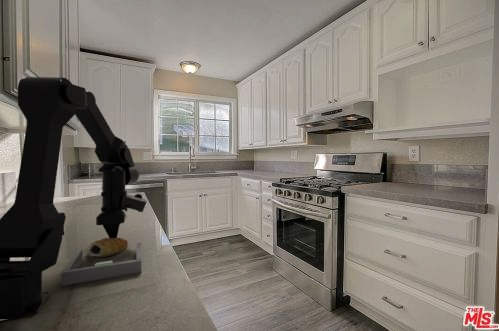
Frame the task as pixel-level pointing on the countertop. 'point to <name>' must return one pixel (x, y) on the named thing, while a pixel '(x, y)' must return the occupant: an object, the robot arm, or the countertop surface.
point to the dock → (98, 269)
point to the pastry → (107, 247)
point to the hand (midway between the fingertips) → (113, 241)
